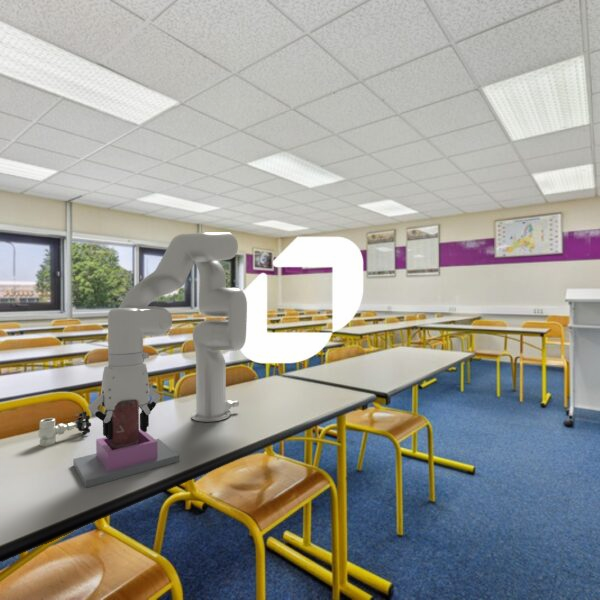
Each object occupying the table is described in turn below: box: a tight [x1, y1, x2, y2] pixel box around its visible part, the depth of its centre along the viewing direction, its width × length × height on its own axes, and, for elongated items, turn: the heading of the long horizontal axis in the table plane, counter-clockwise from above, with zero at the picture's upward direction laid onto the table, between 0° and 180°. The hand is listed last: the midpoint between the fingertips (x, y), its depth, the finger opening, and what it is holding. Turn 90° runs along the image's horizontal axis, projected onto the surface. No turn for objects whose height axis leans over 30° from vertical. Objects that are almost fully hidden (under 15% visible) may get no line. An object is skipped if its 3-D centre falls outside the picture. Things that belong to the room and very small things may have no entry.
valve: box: [38, 411, 92, 447], centre depth 108 cm, size 7×7×12 cm
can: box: [110, 399, 140, 450], centre depth 91 cm, size 6×6×14 cm
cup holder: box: [72, 429, 180, 489], centre depth 92 cm, size 20×14×6 cm
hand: (126, 433), depth 92 cm, fingers open, 7 cm apart
